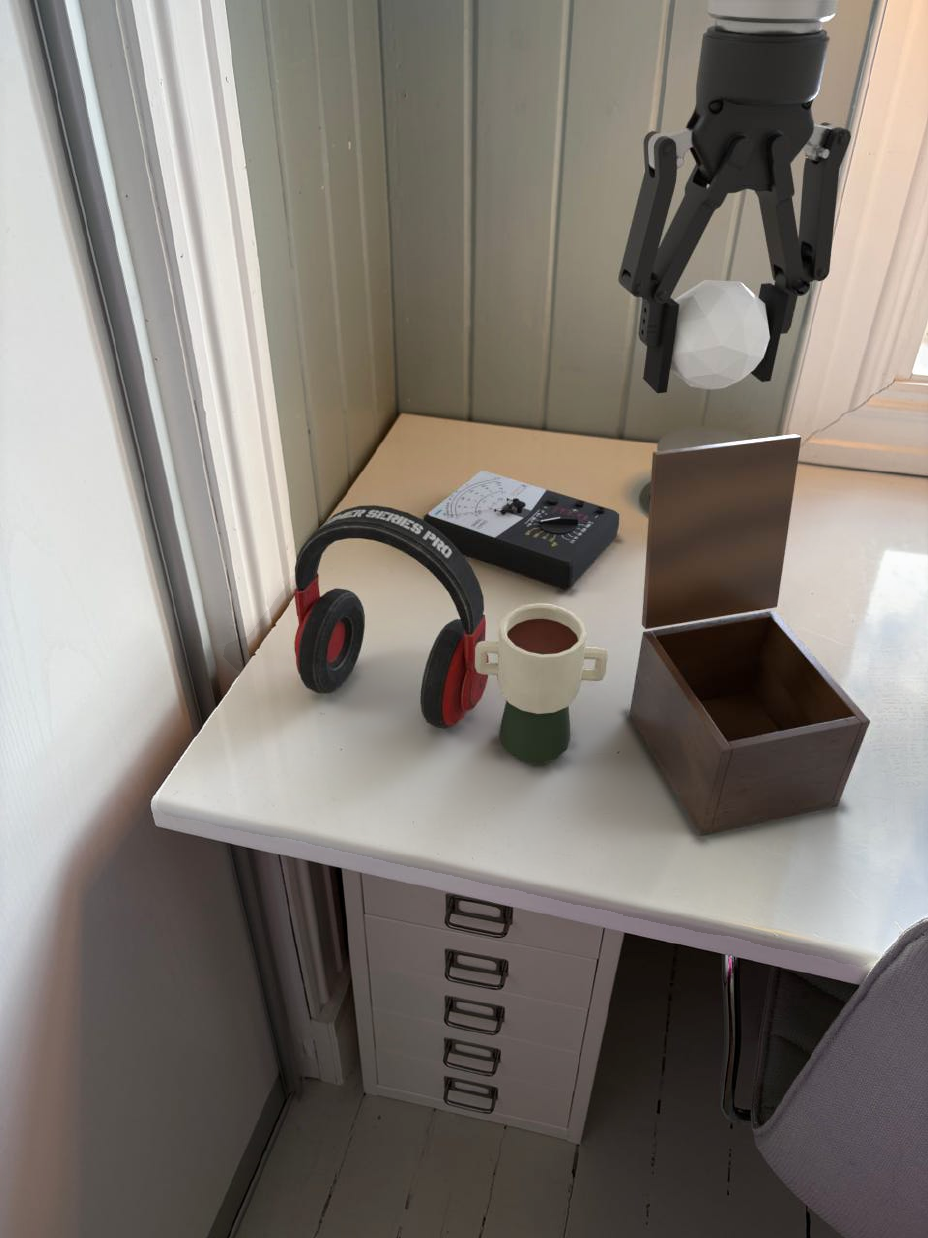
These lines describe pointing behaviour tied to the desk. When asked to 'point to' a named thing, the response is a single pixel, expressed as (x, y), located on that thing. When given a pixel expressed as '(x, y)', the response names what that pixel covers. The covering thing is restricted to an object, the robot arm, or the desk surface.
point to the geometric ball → (719, 334)
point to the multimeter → (525, 528)
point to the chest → (744, 721)
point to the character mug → (539, 677)
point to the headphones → (340, 620)
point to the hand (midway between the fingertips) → (706, 379)
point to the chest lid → (718, 529)
